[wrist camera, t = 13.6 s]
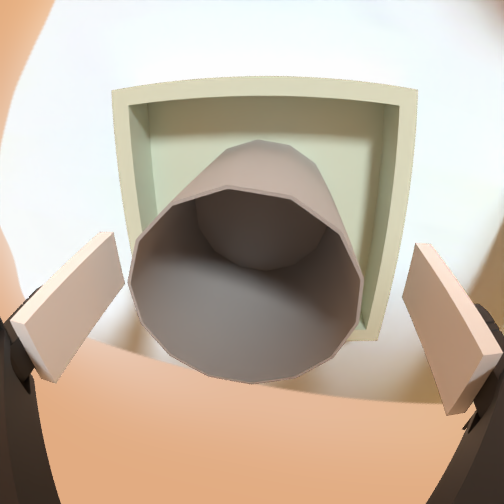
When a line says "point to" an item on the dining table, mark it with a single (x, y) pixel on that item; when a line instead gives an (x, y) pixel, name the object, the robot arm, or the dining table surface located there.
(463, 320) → the robot arm
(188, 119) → the bin
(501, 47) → the dining table surface
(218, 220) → the cup
